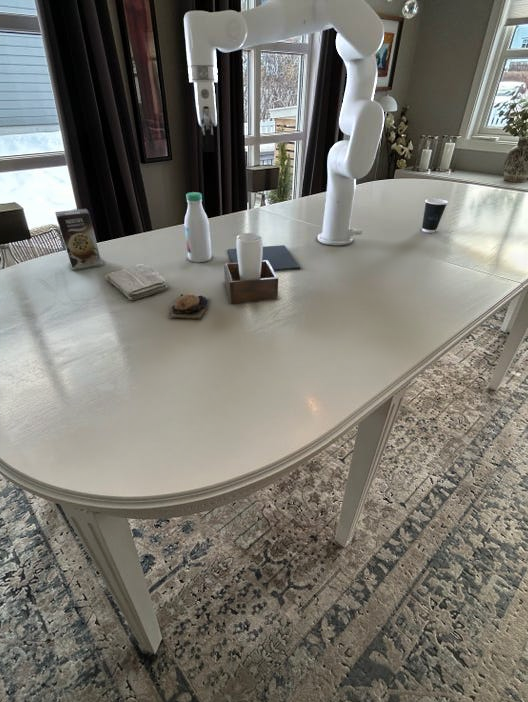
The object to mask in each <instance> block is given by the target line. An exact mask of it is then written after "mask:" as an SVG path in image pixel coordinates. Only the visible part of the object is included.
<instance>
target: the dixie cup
mask: <svg viewBox="0 0 528 702" xmlns="http://www.w3.org/2000/svg"><path fill="white" fill-rule="evenodd" d="M424 201H425V203H424V204H425V205H424V211H423V217H422V225H421V231H422V232H424V233H429V234H433V233H435V232H436V230H437V229H438V227H439V224H440V223H441V219H442V217H443V214H444V212H445V209H446V207H447V205H448V203H449V201H448V200H445V199H442V198H426V199H425V200H424Z"/></svg>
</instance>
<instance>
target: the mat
mask: <svg viewBox="0 0 528 702" xmlns="http://www.w3.org/2000/svg"><path fill="white" fill-rule="evenodd" d="M227 252H228V255H229V257H230V260H231V263H238V259H237V248H227ZM264 260H268V261H269V263H270V265H271V267H272V268H273V270H274V272H280V271H293V270H300V269H301V265H299V263H298V262H297V261H296V259H295V258H294V257H293V255H292V253H290V251H289V250H288V249H287V247H286V246H285V245H284V244H281V245H268V246H267V245H266V246H263V255H262V261H264Z"/></svg>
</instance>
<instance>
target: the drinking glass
mask: <svg viewBox="0 0 528 702" xmlns="http://www.w3.org/2000/svg"><path fill="white" fill-rule="evenodd" d="M263 242H264V239H263V236H262V235H261V234H259V233H255V232H243V233H240V234H238V235H237V236H236V249H237V259H238V267H239V275H240V280H250V279H260V277H261V266H262V255H263V247H264V243H263Z"/></svg>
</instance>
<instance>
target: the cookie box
mask: <svg viewBox="0 0 528 702" xmlns="http://www.w3.org/2000/svg"><path fill="white" fill-rule="evenodd" d="M54 214H55V217H56V220H57V225H58V228H59V230H60V235H61V237H62V240H63V244H64V247H65V250H66V255H67V257H68V259H69V263H70V267H71V270H72V271H76V270H83V269H89V268H93V267H98V266H103V262H102V258H101V255H100V250H99V246H98V243H97V239H96V234H95V230H94V226H93V224H92V223H93V222H92V219H91V216H90V215H91V214H90V212H89V210H88V209H87V208H79V209H70V210H62V211H61V210H60V211H55V212H54Z"/></svg>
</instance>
